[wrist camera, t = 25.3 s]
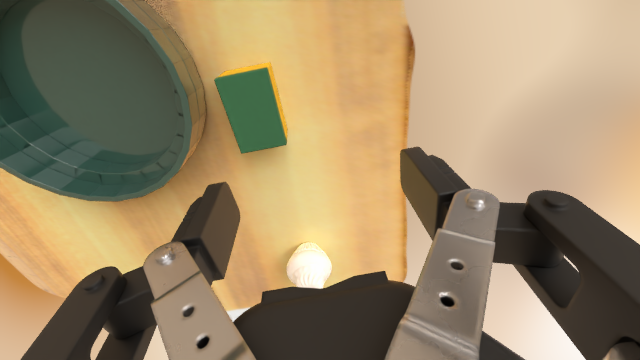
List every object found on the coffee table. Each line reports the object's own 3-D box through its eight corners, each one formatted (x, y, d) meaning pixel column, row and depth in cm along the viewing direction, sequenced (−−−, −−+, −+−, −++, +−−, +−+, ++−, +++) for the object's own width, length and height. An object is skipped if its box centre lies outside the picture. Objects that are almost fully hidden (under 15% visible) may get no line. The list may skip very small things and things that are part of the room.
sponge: (224, 71, 26) (213, 79, 22) (270, 62, 26) (266, 68, 22) (247, 138, 29) (241, 153, 26) (287, 130, 29) (286, 145, 26)
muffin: (312, 227, 37) (315, 267, 31) (337, 251, 40) (344, 292, 34) (277, 248, 38) (274, 291, 32) (304, 270, 41) (306, 312, 35)
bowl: (-91, -11, 21) (-190, -19, 17) (148, -63, 20) (109, -83, 16) (72, 189, 31) (36, 217, 27) (233, 158, 30) (223, 181, 26)
